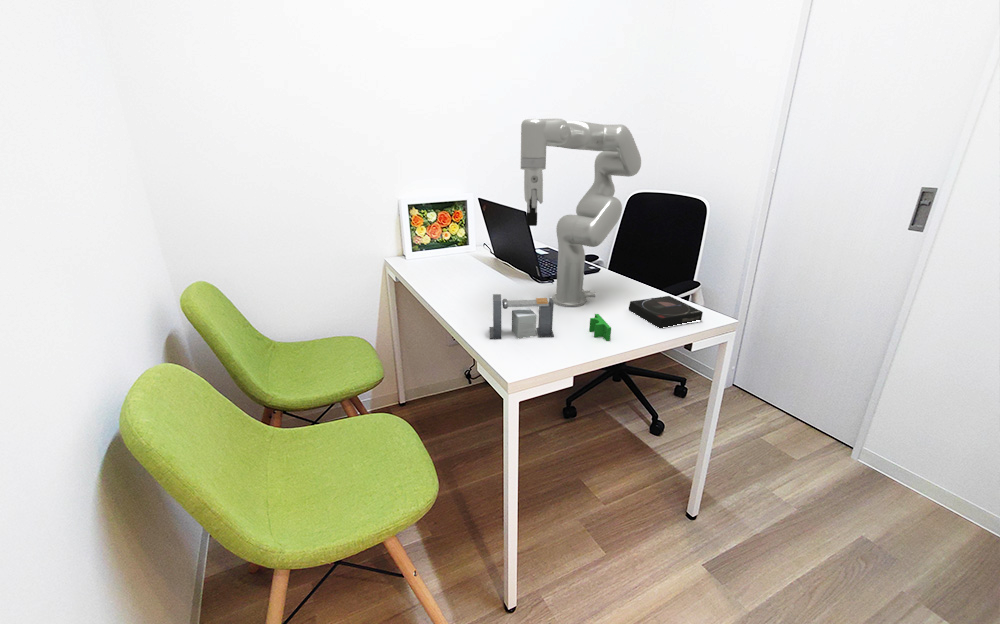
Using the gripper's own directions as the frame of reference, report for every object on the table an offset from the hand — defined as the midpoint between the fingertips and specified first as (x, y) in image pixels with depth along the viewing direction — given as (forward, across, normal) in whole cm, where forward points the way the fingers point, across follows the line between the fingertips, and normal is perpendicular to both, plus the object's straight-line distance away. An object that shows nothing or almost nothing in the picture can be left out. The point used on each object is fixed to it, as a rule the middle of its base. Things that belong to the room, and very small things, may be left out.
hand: (531, 225), depth 140 cm
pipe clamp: (+32, -15, -20) cm, 40 cm away
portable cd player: (+32, -1, -46) cm, 56 cm away
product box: (+31, -14, +3) cm, 34 cm away
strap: (+22, -14, +3) cm, 26 cm away
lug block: (+31, -14, -3) cm, 34 cm away
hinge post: (+31, -14, +11) cm, 36 cm away
